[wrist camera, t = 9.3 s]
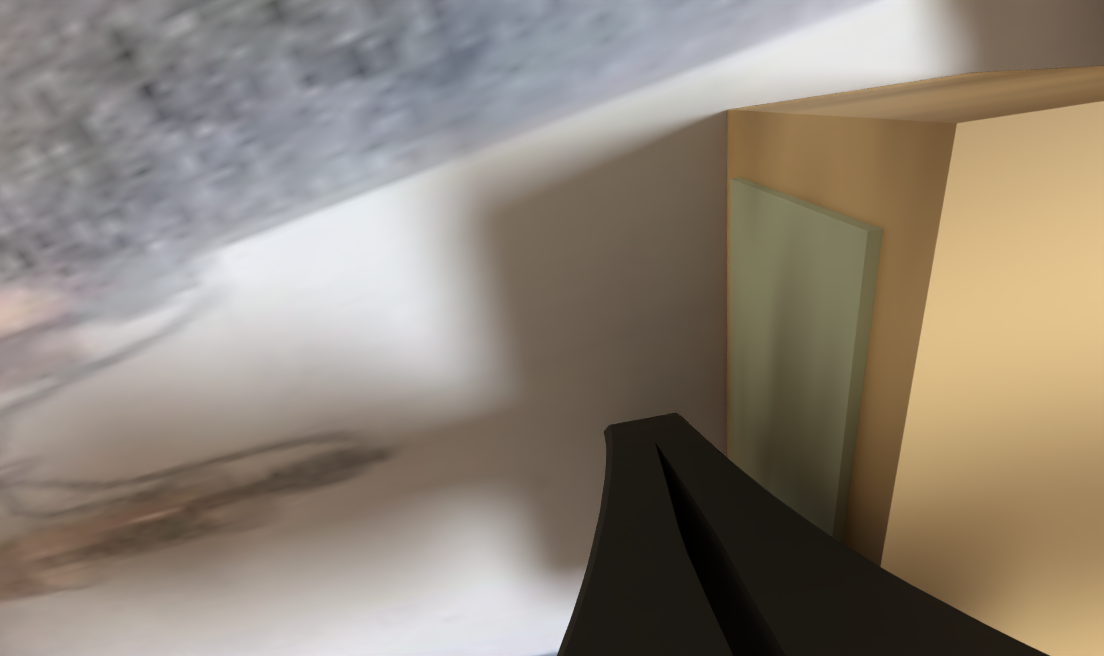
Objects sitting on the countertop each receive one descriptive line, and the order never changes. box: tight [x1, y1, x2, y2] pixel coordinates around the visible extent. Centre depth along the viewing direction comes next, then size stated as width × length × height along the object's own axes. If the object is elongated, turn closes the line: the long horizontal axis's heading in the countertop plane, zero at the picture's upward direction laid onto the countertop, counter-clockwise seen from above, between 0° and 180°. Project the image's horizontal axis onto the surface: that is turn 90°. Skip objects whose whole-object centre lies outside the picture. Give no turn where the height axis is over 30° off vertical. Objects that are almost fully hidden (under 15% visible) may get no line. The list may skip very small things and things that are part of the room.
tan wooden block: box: [727, 66, 1104, 656], centre depth 8 cm, size 10×4×5 cm, turn 8°
